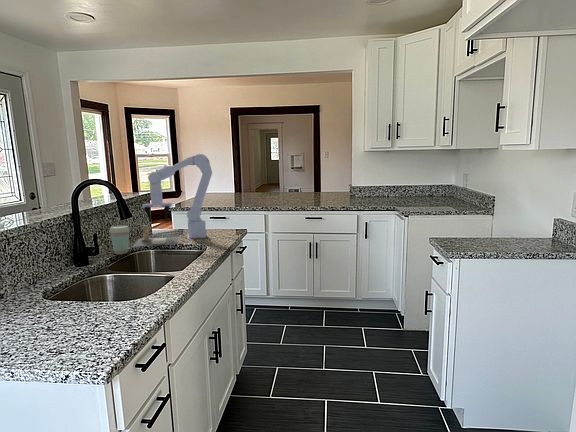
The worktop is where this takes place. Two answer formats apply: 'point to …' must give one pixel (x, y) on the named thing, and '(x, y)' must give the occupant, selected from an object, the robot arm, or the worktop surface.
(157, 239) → the tile
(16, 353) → the worktop surface
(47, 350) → the worktop surface
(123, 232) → the coffee cup
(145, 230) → the stepped wooden block
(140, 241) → the mat
